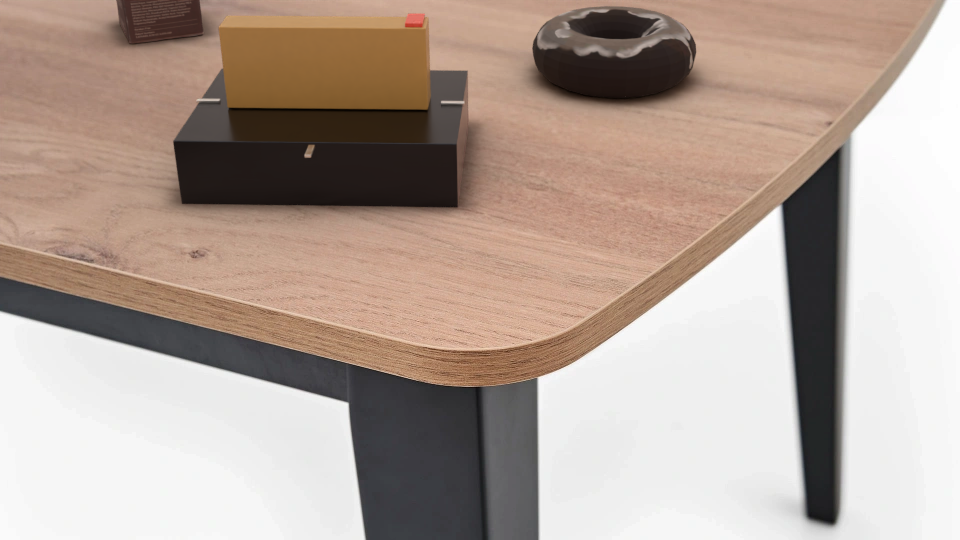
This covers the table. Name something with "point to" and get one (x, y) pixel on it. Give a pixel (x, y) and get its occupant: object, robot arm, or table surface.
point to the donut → (614, 51)
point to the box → (159, 19)
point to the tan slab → (326, 62)
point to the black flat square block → (326, 152)
